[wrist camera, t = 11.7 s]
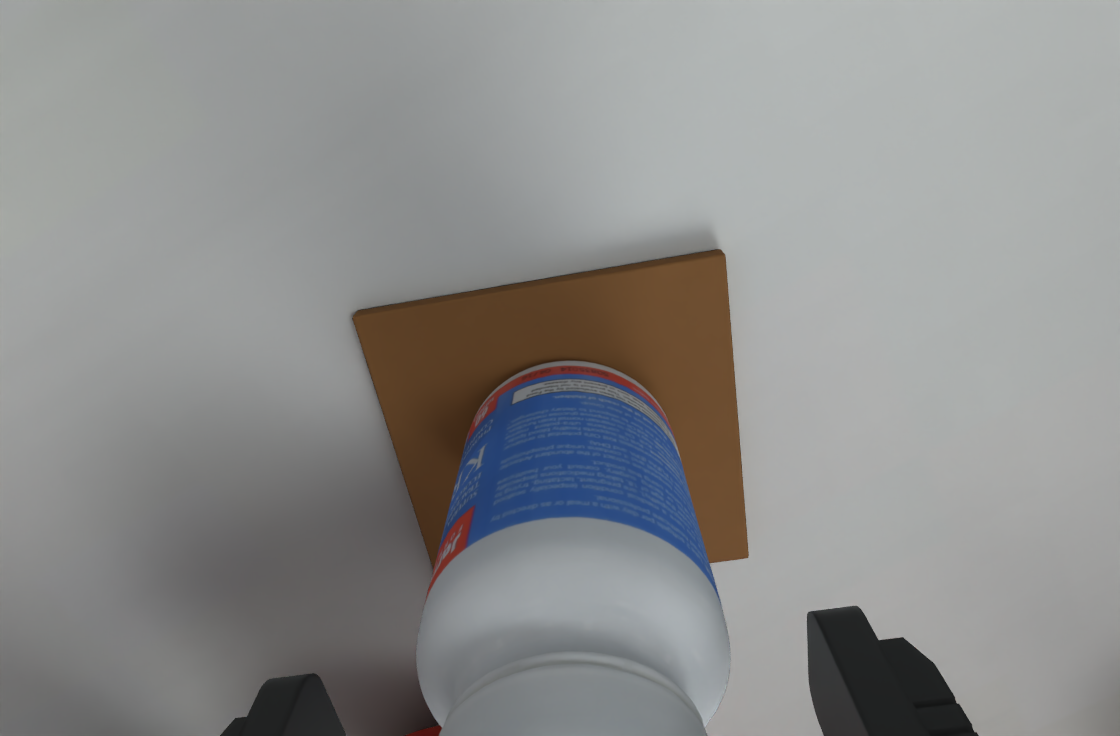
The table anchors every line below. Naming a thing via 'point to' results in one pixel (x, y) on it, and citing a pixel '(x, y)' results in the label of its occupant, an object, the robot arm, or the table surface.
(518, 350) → the cork mat
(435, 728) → the apple
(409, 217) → the table surface
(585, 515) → the pill bottle
